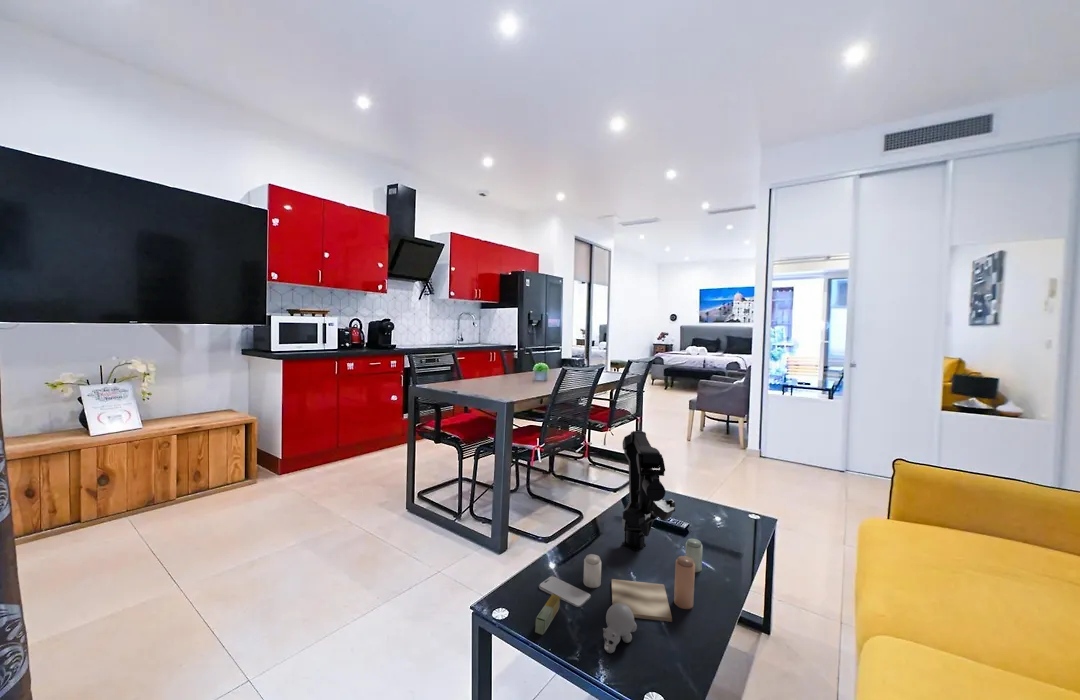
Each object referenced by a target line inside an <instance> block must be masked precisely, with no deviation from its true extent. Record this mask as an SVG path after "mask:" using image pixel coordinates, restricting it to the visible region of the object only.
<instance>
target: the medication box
mask: <svg viewBox="0 0 1080 700" xmlns="http://www.w3.org/2000/svg"><path fill="white" fill-rule="evenodd" d="M560 604H561V599H560V596H557V595H554V594H552V595H551V594H550V596H549V598H548V600H547V601H546V603H545V604H544V606H543V607H542V609H541V610H540V611H539V613H538V615H537V616H535V623H534V633H536V634H538V635H541V636H543V635H544V634H545V633H546V632H547V629H548V628H549V626H550V625H551V623H552V622H553V620H554V618H555V617H556V615H557V613H558V612H559V610H560Z"/></svg>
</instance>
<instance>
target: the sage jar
mask: <svg viewBox="0 0 1080 700" xmlns="http://www.w3.org/2000/svg"><path fill="white" fill-rule="evenodd" d="M703 546H704V545H703V544H702V542H701V541H700V540H699V539H697V538H688V539H687V540H686V542H685V549H684V552H685V553H684V556H687V557H689V558H691V559H692V560H693V562H694V563H695V573H700V572H702V566H703V565H702V564H703V549H704V548H703Z"/></svg>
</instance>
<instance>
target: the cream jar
mask: <svg viewBox="0 0 1080 700" xmlns="http://www.w3.org/2000/svg"><path fill="white" fill-rule="evenodd" d="M601 581H602V559H601V557H600V556H599V555H597V554H593V553H589V554H587V555H586V556H585V558H584V559H583V581H582V582H583V585H584V586H586V587H587V588H589V589H595V588H599V587H600V586H601V584H602V582H601Z"/></svg>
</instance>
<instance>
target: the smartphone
mask: <svg viewBox="0 0 1080 700" xmlns="http://www.w3.org/2000/svg"><path fill="white" fill-rule="evenodd" d="M538 588H539V590H541V591H542V592H544V593H547V594H549V595H550V596H551V595H552V594H554V595H557V596H560V601H564V602H565V603H568V604H570V605H572V606H574V607H576V608H580V607H582V606H583V605H585V603H587V601H588V600H590V599H591V597H592V595H591V593H589V592H587V591H585V590H583V589H580V588H579V587H576V586H574V585H572V584H571V583H568V582H566V581H564V580H563V579H561V578H558V577H556V576H553V575H550V576H548V577H547V578H546V579H545V580H543V581H542V582H541V583H539V585H538Z"/></svg>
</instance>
